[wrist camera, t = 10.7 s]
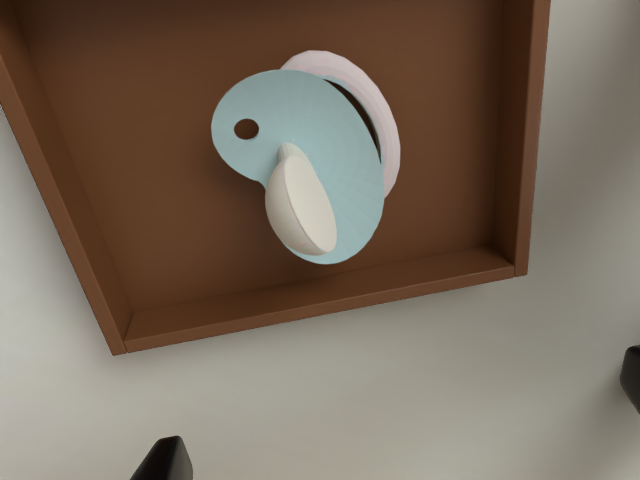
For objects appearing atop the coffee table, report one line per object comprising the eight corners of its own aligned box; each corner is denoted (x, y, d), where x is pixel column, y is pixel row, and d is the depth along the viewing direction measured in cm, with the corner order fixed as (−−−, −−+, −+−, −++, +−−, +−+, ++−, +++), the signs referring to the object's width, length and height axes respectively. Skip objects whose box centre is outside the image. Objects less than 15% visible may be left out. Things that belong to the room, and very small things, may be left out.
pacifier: (338, 9, 16) (191, 103, 17) (394, 9, 10) (171, 151, 11) (421, 181, 19) (298, 255, 20) (498, 250, 14) (323, 350, 14)
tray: (515, -95, 16) (561, -111, 13) (498, 246, 22) (527, 275, 20) (-10, -19, 15) (-58, -23, 12) (126, 317, 21) (112, 356, 19)
